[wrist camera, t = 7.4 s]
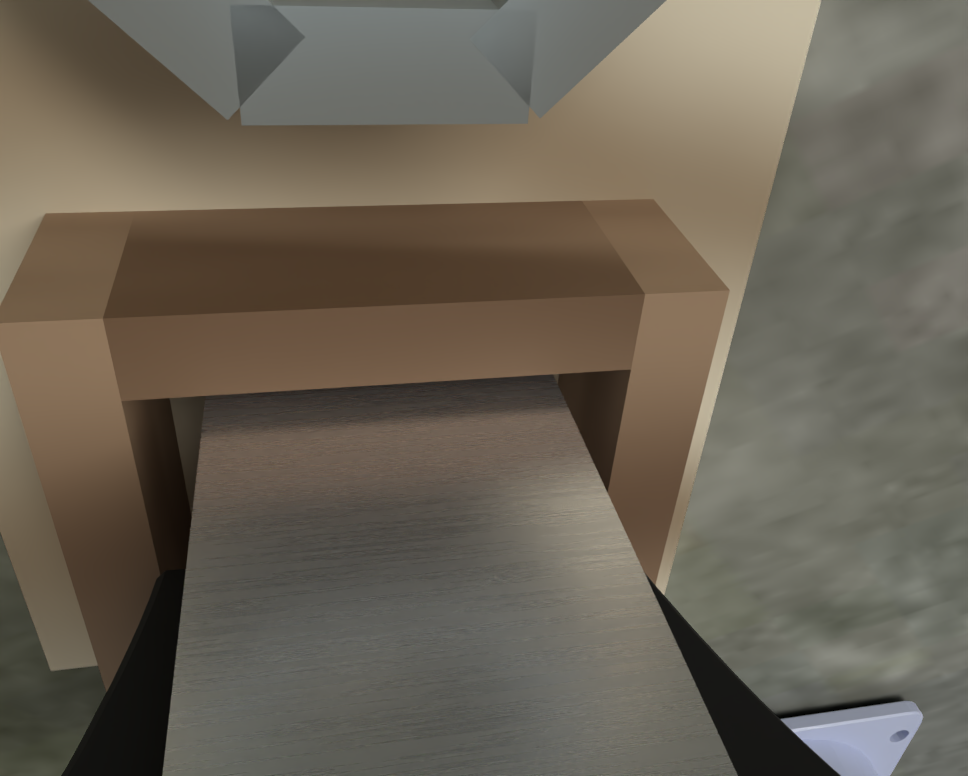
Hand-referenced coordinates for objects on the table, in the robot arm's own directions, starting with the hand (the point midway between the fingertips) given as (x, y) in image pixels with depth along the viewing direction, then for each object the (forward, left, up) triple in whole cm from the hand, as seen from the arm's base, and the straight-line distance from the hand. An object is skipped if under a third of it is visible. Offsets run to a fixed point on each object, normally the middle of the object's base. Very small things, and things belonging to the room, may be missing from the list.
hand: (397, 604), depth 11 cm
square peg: (+1, 0, -3) cm, 3 cm away
